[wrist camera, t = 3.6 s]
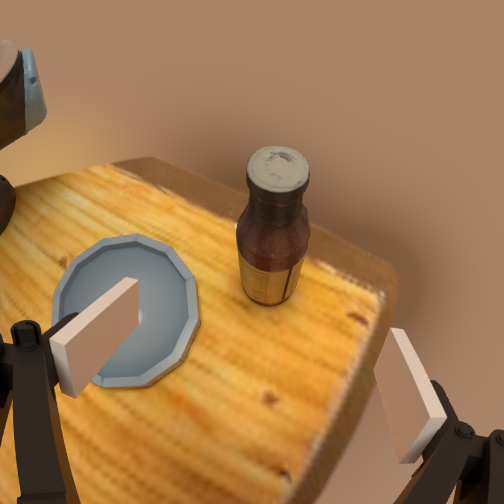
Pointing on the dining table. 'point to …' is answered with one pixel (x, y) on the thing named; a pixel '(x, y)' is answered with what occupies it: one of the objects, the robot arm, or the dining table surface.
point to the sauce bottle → (273, 224)
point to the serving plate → (149, 305)
